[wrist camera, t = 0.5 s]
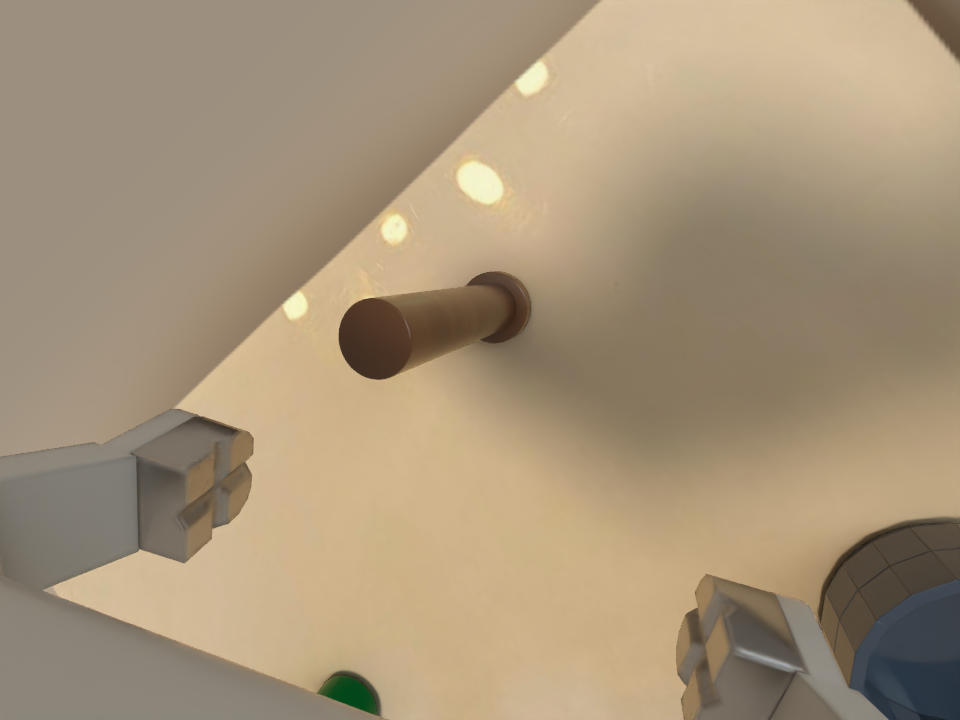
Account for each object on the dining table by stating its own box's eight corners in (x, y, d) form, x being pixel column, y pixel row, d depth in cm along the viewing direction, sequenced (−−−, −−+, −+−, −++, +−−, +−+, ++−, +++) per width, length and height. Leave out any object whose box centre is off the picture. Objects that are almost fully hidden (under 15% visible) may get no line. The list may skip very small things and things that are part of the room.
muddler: (520, 263, 34) (410, 263, 19) (538, 332, 35) (443, 385, 20) (456, 282, 36) (307, 296, 21) (474, 348, 36) (341, 408, 21)
